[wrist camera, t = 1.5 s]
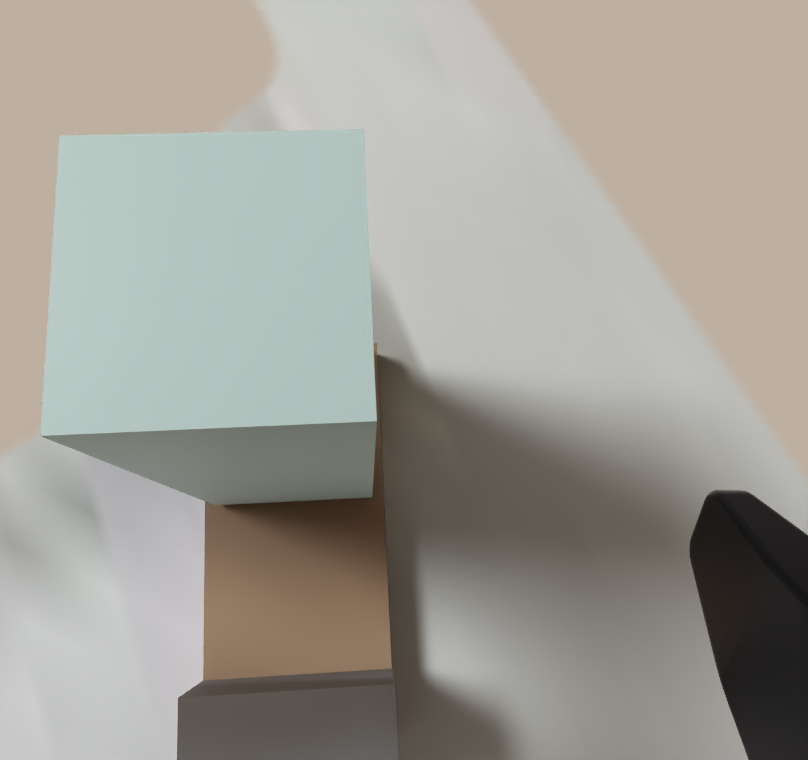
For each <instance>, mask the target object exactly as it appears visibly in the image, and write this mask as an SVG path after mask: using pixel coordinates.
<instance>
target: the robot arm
mask: <svg viewBox="0 0 808 760" xmlns="http://www.w3.org/2000/svg"><path fill="white" fill-rule="evenodd" d="M690 560H691V564H692V568H693V573H694V577H695V581H696V585H697V589H698V593H699V597H700V601H701V605H702V609H703V614H704V618H705V622H706V626H707V630H708V634H709V638H710V642H711V646H712V650H713V654H714V659H715V662H716V666H717V670H718V673H719V677H720V681H721V684H722V686H723V689H724V692H725V695H726V698H727V701H728V704H729V707H730V710H731V712H732V715H733V718H734V721H735V723H736V726H737V729H738V732H739V734H740V737H741V740H742V742H743V745H744V748H745V751H746V753H747V756H748V759H749V760H808V535H807V534H805V533H804V532H803V531H801V530H800V529H799V528H797V527H796V526H795V525H793V524H792V523H790V522H789V521H788V520H786V519H785V518H784V517H782V516H781V515H779V514H778V513H777V512H775V511H774V510H773V509H771V508H770V507H769V506H767V505H766V504H764V503H763V502H762V501H760V500H759V499H758V498H756V497H755V496H754V495H752V494H750V493H749V492H746V491H741V490H715V491H712V492H710V493H709V494H708V495H707V497H706V499H705V501H704V504H703V506H702V509H701V512H700V515H699V517H698V520H697V523H696V526H695V529H694V531H693V534H692V537H691V541H690Z"/></svg>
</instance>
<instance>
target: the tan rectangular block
mask: <svg viewBox="0 0 808 760" xmlns="http://www.w3.org/2000/svg"><path fill="white" fill-rule="evenodd" d="M373 347H374V369H375V391H376V413H377V427H376V444H375V461H374V477H373V494H372V497H371V498H351V499H331V500H311V501H290V502H270V503H250V504H230V505H214V504H211V503H209V502H206V501H205V576H204V676H203V681H202V682H200V683H199V684H198V685H196V686H195V687H193V688H192V689H190V690H189V691H188V692H186V693H185V694H183V695H182V696H180V697H179V698H178V739H177V760H399V751H398V730H397V709H396V688H395V680H394V676H393V672H392V663H391V641H390V620H389V598H388V577H387V555H386V534H385V512H384V491H383V469H382V448H381V426H380V405H379V383H378V362H377V343H373Z"/></svg>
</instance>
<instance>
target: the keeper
mask: <svg viewBox="0 0 808 760" xmlns="http://www.w3.org/2000/svg"><path fill="white" fill-rule="evenodd" d="M55 198H56V199H55V213H54V230H53V245H52V260H51V276H50V292H49V307H48V323H47V324H48V325H47V339H46V355H45V370H44V372H45V373H44V386H43V402H42V418H41V433H40V436H42V437H44V438H47V439H49V440H52V441H54V442H57V443H60V444H62V445H65V446H67V447H70V448H72V449H75V450H77V451H80V452H82V453H85V454H87V455H90V456H92V457H95V458H97V459H100V460H102V461H105V462H108V463H110V464H113V465H115V466H118V467H120V468H123V469H125V470H128V471H130V472H133V473H135V474H138V475H140V476H143V477H145V478H148V479H150V480H153V481H155V482H158V483H161V484H163V485H166V486H168V487H171V488H173V489H176V490H178V491H181V492H183V493H186V494H188V495H191V496H193V497H196V498H198V499H201V500H203V501H206V502H209V503H211V504H214V505H230V504H250V503H270V502H290V501H311V500H331V499H351V498H371V497H372V494H373V477H374V461H375V444H376V427H377V413H376V391H375V369H374V347H373V325H372V303H371V281H370V258H369V236H368V214H367V192H366V170H365V148H364V129H350V130H302V131H255V132H208V133H165V134H164V133H163V134H117V135H116V134H115V135H114V134H113V135H71V136H70V135H68V136H66V135H65V136H59V151H58V165H57V181H56V197H55Z"/></svg>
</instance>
